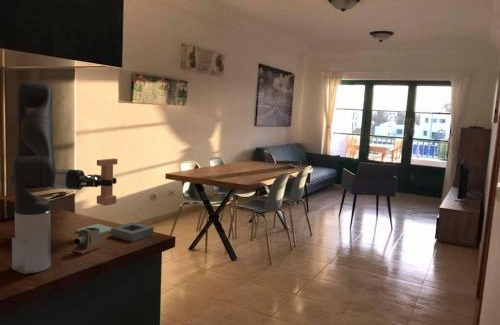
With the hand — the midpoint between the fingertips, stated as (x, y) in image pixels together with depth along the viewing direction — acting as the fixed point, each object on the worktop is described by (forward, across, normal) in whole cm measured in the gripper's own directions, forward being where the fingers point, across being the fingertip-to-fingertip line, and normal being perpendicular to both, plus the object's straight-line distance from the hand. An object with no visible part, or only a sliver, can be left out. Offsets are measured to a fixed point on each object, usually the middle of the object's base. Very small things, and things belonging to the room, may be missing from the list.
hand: (113, 182), depth 157 cm
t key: (-3, 0, +8) cm, 9 cm away
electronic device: (-2, -21, +20) cm, 29 cm away
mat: (-7, 0, +20) cm, 21 cm away
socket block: (+8, -2, +20) cm, 21 cm away
